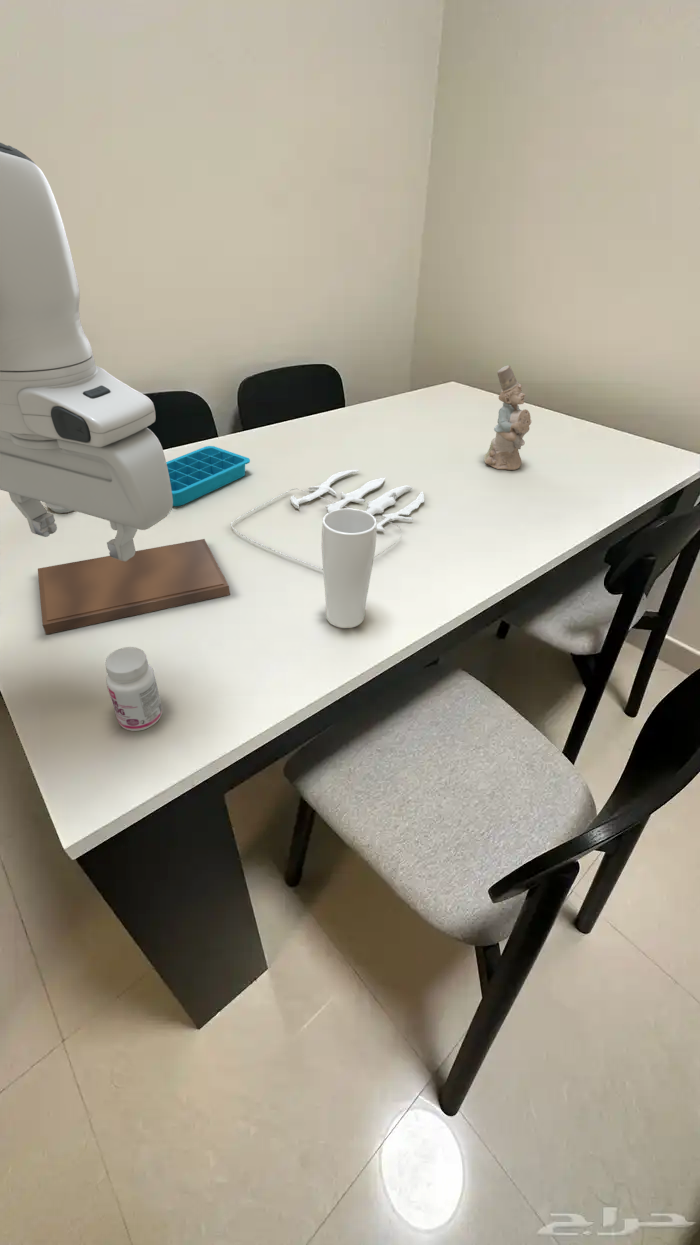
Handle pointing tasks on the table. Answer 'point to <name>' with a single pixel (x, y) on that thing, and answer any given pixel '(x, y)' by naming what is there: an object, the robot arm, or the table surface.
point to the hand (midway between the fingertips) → (83, 544)
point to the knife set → (357, 501)
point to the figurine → (509, 424)
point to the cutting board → (128, 585)
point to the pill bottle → (133, 689)
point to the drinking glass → (347, 564)
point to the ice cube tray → (203, 472)
